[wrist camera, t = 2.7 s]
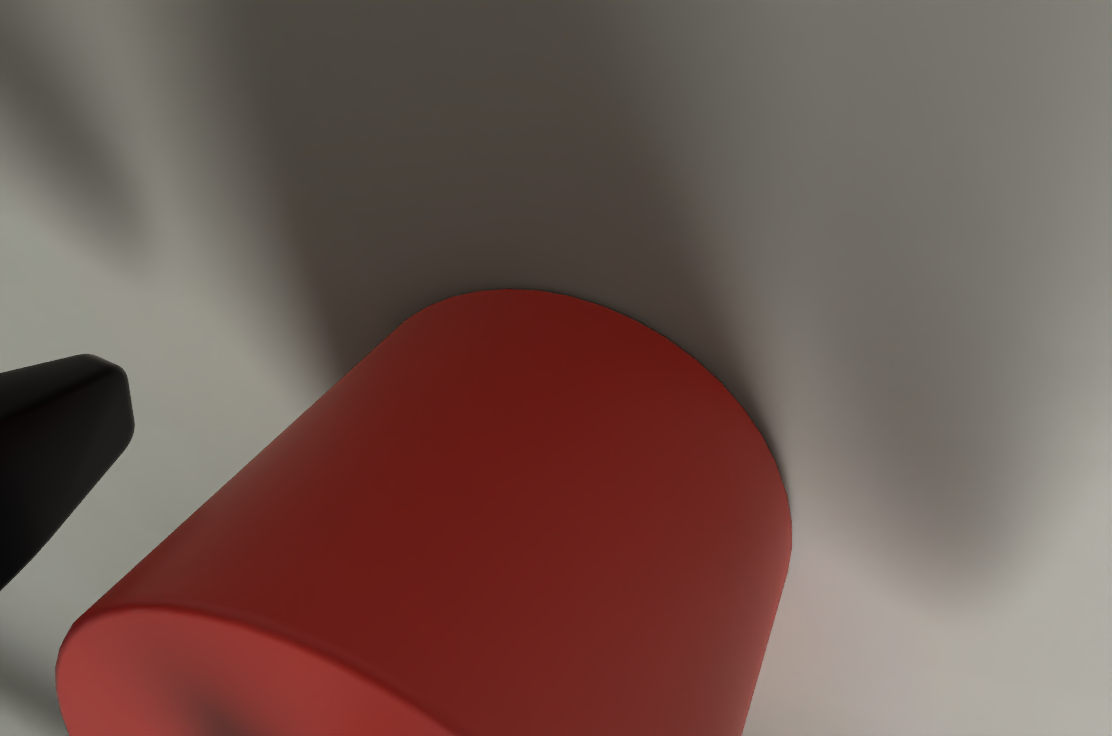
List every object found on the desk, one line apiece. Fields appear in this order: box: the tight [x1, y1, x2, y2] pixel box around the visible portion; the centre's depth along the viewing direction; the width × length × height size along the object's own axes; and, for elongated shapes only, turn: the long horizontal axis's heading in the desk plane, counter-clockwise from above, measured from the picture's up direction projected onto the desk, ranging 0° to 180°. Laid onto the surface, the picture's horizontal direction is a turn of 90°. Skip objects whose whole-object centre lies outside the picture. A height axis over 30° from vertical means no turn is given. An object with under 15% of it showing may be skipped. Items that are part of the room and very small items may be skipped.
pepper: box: [55, 289, 792, 736], centre depth 7 cm, size 5×5×5 cm
